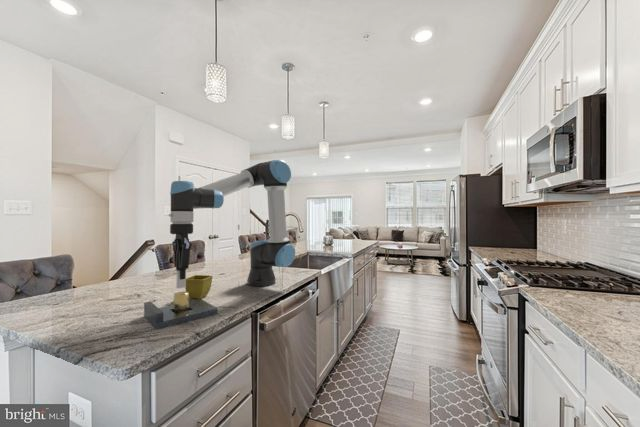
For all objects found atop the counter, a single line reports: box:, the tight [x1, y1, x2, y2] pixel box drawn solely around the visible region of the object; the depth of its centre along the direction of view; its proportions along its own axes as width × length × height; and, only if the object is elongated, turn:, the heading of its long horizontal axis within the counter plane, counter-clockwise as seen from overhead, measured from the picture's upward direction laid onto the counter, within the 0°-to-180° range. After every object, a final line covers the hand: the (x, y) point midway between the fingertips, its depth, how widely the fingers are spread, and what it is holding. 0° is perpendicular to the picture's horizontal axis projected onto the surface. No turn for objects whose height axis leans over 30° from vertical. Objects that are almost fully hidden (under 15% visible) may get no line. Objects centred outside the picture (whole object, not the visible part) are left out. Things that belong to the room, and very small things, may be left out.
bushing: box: [173, 290, 190, 314], centre depth 97 cm, size 5×5×8 cm
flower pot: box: [184, 274, 213, 300], centre depth 119 cm, size 9×9×9 cm
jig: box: [143, 298, 219, 331], centre depth 97 cm, size 20×16×5 cm
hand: (181, 287), depth 97 cm, fingers closed
